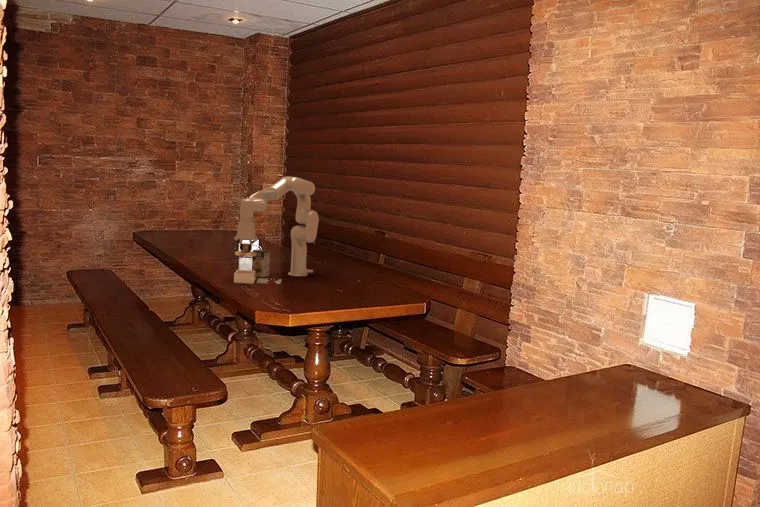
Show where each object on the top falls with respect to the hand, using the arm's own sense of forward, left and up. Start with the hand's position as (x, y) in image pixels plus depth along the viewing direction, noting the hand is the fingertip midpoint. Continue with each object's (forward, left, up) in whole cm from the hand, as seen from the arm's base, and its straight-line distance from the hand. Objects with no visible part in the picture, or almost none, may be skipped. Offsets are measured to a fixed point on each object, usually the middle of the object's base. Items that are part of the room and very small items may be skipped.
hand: (245, 250), depth 367 cm
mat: (-14, -4, -19) cm, 24 cm away
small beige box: (0, 0, -19) cm, 19 cm away
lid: (0, 0, -2) cm, 2 cm away
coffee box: (-7, -21, -19) cm, 29 cm away
